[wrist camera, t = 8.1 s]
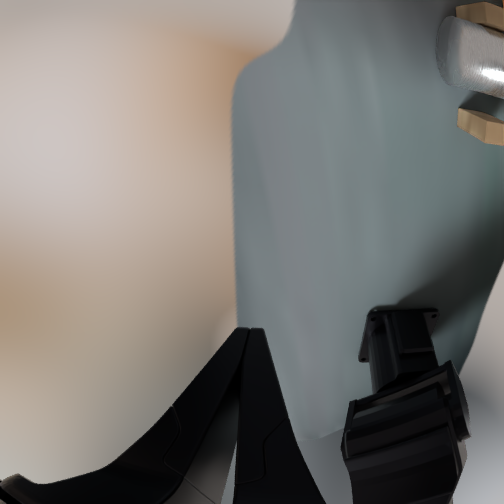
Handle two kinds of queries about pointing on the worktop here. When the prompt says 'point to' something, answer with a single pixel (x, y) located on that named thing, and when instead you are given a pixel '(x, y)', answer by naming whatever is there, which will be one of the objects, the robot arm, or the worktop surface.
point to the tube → (471, 56)
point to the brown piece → (472, 120)
